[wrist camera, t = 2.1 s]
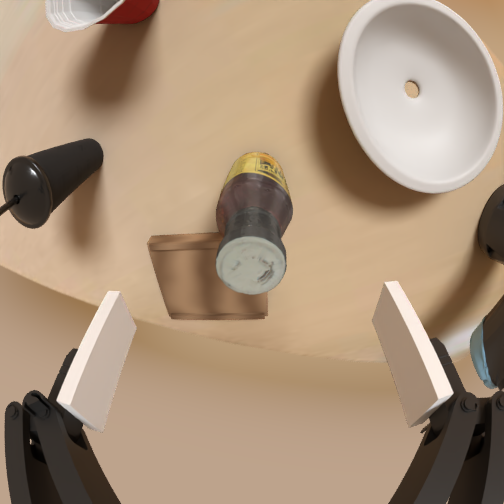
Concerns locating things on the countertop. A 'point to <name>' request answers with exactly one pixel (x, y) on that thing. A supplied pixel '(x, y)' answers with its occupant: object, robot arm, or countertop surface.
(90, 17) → the plastic cup
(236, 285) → the sauce bottle
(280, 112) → the countertop surface
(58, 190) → the drinking cup
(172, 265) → the board
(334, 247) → the countertop surface
